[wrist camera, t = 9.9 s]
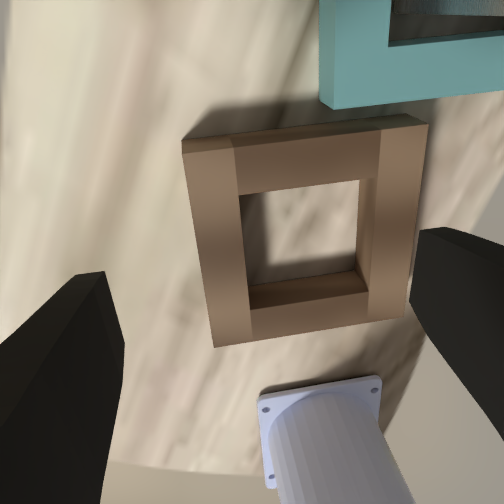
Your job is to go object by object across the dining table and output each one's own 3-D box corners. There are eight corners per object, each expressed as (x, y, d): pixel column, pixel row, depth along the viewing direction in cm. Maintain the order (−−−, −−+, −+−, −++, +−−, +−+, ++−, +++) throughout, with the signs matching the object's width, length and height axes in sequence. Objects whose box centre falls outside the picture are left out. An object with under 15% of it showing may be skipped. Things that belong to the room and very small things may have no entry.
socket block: (387, 294, 24) (403, 316, 22) (211, 322, 23) (213, 347, 21) (405, 113, 19) (428, 124, 17) (181, 140, 18) (182, 153, 16)
